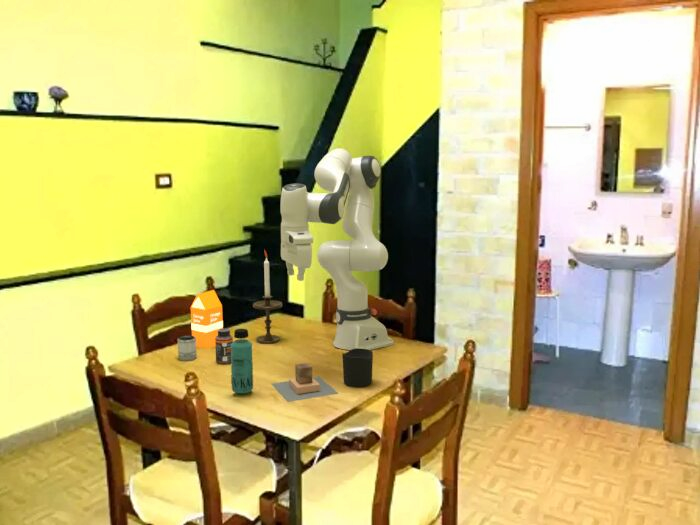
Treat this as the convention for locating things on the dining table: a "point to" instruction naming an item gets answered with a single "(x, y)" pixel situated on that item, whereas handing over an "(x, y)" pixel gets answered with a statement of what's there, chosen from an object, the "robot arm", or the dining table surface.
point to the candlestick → (267, 308)
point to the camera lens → (187, 348)
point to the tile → (304, 386)
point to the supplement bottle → (223, 346)
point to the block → (303, 373)
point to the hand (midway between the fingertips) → (295, 277)
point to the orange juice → (206, 318)
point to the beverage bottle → (241, 363)
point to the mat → (293, 396)
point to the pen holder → (357, 367)
